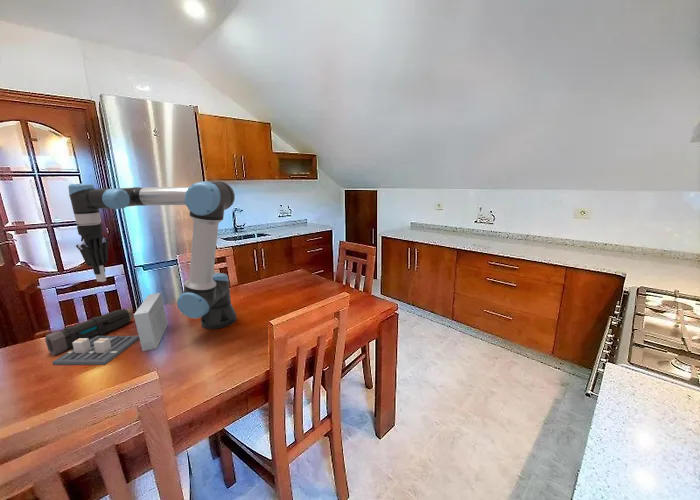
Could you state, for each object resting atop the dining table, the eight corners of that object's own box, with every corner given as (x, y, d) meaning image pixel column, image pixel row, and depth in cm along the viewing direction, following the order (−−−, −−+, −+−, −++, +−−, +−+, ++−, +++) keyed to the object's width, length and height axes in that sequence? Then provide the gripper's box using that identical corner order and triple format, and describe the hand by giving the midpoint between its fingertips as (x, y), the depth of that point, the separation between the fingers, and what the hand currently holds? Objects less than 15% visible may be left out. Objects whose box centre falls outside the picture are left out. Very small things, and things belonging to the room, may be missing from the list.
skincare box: (154, 327, 134) (148, 294, 131) (168, 324, 136) (162, 292, 133) (140, 351, 115) (132, 314, 111) (156, 349, 117) (149, 311, 113)
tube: (138, 329, 139) (55, 356, 111) (129, 329, 141) (46, 357, 114) (133, 306, 138) (49, 328, 111) (125, 307, 141) (40, 329, 113)
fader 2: (111, 348, 115) (109, 338, 114) (105, 353, 112) (102, 342, 111) (102, 348, 115) (99, 338, 114) (95, 353, 112) (93, 342, 111)
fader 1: (91, 348, 115) (88, 338, 114) (84, 353, 112) (81, 342, 111) (81, 348, 115) (79, 338, 114) (74, 353, 112) (72, 342, 111)
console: (139, 338, 125) (138, 334, 124) (105, 364, 107) (103, 359, 107) (94, 338, 125) (93, 334, 125) (53, 364, 108) (51, 359, 107)
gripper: (93, 221, 123) (105, 276, 128) (64, 226, 110) (78, 286, 116) (111, 221, 123) (122, 275, 128) (84, 226, 110) (97, 286, 116)
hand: (101, 281), depth 122 cm, fingers closed
